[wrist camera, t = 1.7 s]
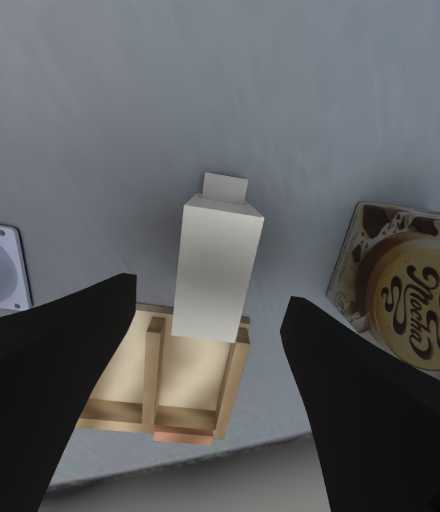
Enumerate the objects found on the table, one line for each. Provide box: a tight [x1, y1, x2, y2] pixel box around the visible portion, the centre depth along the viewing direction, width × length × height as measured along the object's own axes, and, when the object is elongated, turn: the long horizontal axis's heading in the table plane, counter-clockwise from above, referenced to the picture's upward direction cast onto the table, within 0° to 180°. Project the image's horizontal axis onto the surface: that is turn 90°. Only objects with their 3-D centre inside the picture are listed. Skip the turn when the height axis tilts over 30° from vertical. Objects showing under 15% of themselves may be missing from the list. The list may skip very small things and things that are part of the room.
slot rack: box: [75, 303, 250, 445], centre depth 21 cm, size 17×14×4 cm
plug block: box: [171, 172, 264, 343], centre depth 15 cm, size 4×10×7 cm, turn 171°
